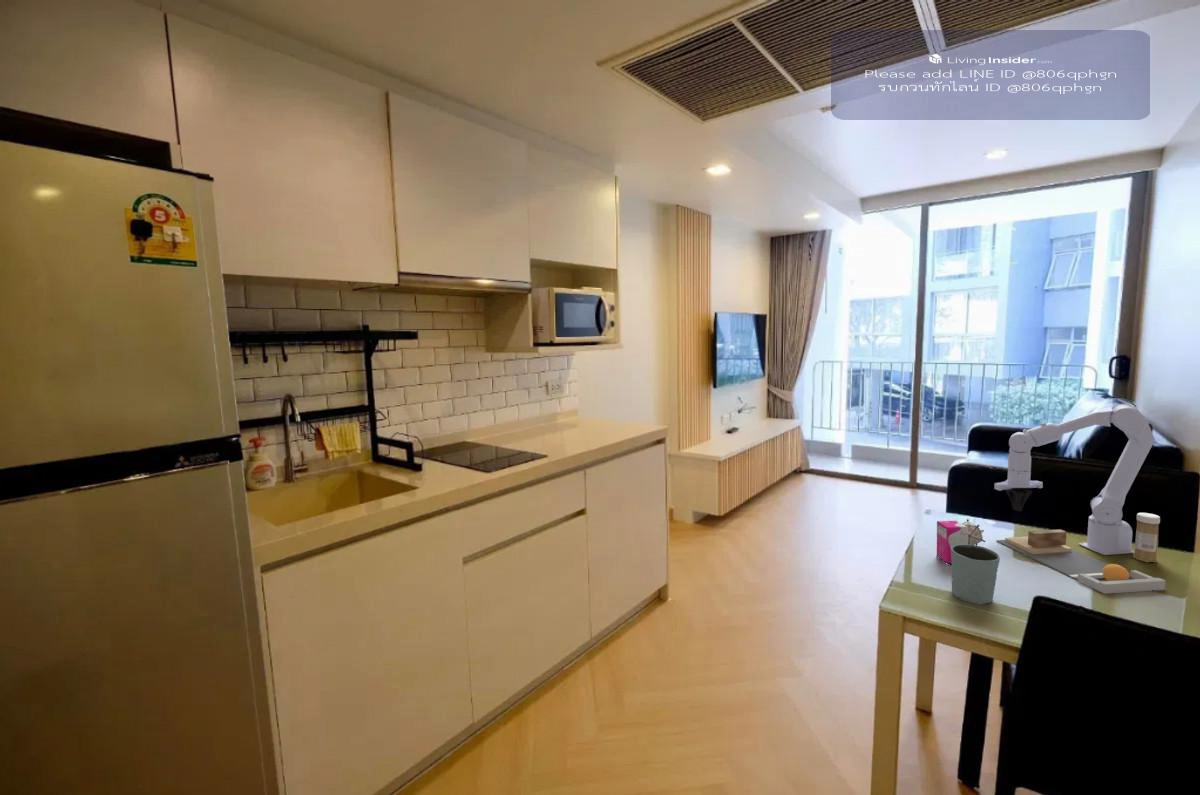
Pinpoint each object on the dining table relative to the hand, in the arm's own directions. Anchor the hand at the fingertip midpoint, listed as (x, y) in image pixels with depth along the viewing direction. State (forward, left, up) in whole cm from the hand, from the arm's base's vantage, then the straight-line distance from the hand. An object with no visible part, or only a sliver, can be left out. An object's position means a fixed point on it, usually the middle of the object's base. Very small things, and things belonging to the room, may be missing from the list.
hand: (1017, 510), depth 167 cm
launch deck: (+2, +21, -8) cm, 23 cm away
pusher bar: (+2, +13, -6) cm, 15 cm away
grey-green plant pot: (+42, +35, -9) cm, 55 cm away
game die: (+21, +6, -9) cm, 23 cm away
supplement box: (+33, +15, -9) cm, 37 cm away
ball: (+2, +33, -6) cm, 34 cm away
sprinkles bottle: (-19, +22, -9) cm, 30 cm away
